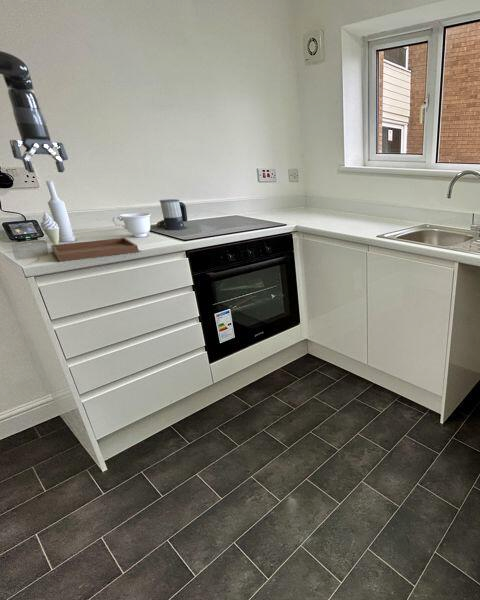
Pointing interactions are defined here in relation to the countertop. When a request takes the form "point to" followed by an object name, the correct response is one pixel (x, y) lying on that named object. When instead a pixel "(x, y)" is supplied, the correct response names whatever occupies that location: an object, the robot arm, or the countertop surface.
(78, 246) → the serving tray
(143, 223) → the teacup
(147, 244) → the countertop surface
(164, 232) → the countertop surface
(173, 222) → the milk frother
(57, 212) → the bottle
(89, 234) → the countertop surface
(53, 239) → the ice cream cone
